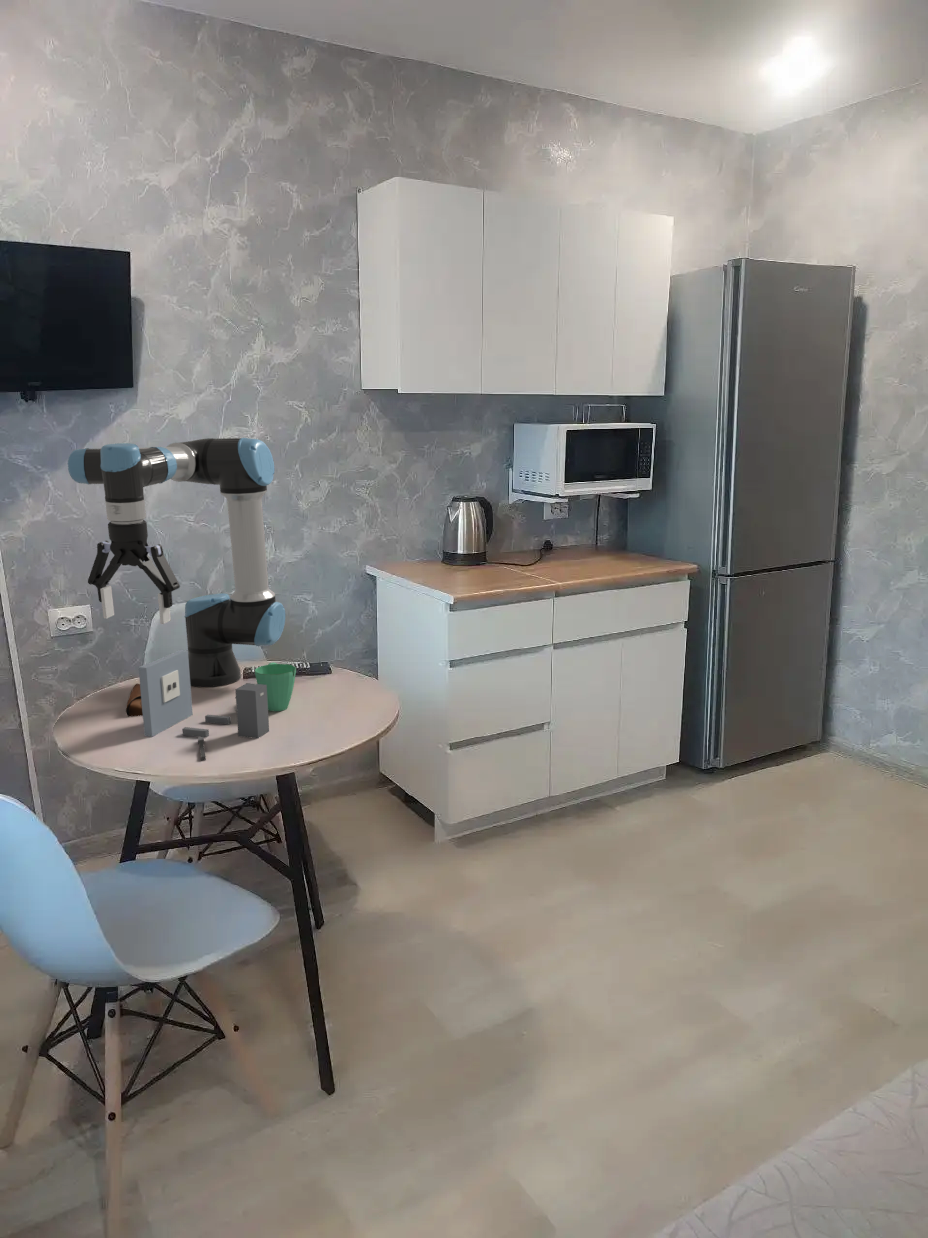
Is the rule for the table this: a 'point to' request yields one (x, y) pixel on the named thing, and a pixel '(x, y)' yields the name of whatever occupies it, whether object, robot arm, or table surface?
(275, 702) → the mug
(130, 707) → the sunglasses case
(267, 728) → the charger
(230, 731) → the table surface
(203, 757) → the grey long bar
